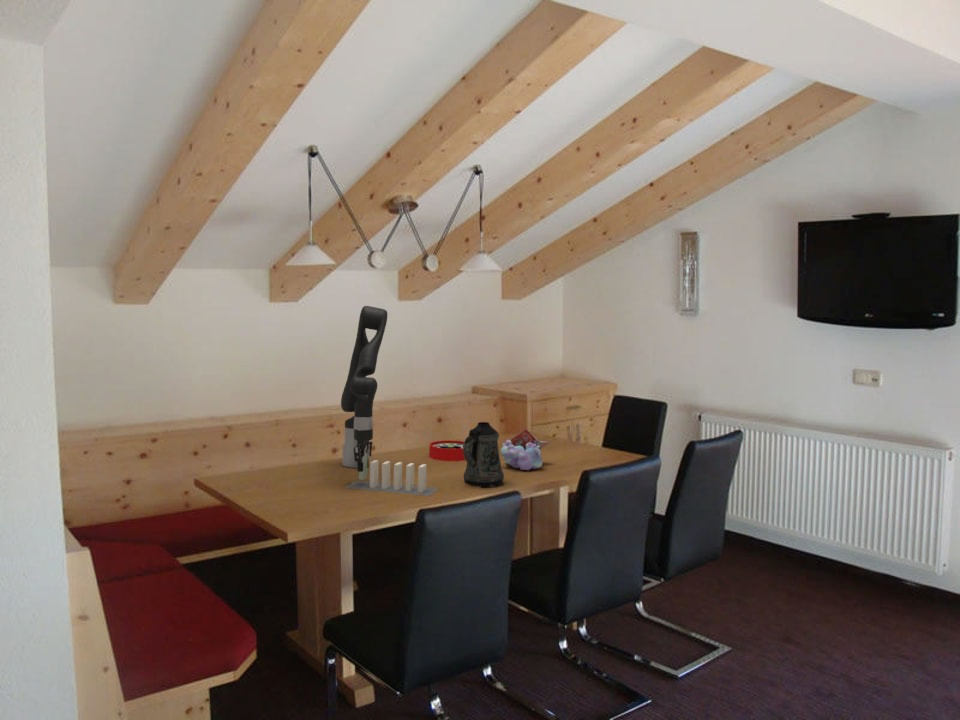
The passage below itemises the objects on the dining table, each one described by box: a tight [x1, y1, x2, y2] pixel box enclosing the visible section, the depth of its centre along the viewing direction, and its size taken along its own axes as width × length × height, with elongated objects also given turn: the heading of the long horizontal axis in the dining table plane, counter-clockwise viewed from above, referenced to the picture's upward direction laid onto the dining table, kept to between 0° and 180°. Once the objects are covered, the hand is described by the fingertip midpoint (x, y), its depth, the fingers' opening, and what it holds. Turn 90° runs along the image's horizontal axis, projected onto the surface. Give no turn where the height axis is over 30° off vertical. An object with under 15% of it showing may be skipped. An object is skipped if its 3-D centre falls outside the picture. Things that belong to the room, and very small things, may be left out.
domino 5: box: [405, 462, 415, 491], centre depth 318 cm, size 2×5×10 cm, turn 165°
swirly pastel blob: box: [499, 429, 550, 471], centre depth 365 cm, size 20×22×18 cm
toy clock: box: [428, 439, 466, 462], centre depth 382 cm, size 20×6×20 cm
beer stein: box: [463, 421, 505, 489], centre depth 332 cm, size 16×19×25 cm
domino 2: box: [369, 459, 380, 488], centre depth 322 cm, size 2×5×10 cm, turn 165°
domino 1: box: [358, 453, 369, 481], centre depth 323 cm, size 2×5×10 cm, turn 165°
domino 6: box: [417, 463, 427, 493], centre depth 317 cm, size 2×5×10 cm, turn 165°
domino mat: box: [344, 480, 439, 497], centre depth 321 cm, size 35×12×1 cm, turn 75°
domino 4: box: [393, 461, 403, 490], centre depth 319 cm, size 2×5×10 cm, turn 165°
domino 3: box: [381, 460, 391, 489], centre depth 321 cm, size 2×5×10 cm, turn 165°
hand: (362, 469), depth 323 cm, fingers closed on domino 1, 5 cm apart
